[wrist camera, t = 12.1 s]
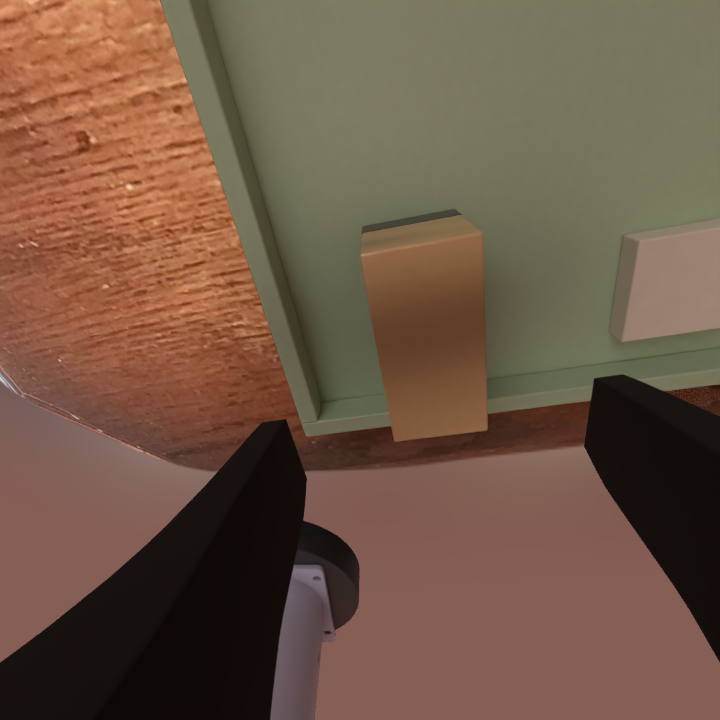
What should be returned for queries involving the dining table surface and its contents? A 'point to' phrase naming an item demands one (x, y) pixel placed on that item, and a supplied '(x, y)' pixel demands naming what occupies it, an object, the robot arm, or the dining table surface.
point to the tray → (459, 172)
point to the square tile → (668, 282)
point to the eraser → (429, 322)
